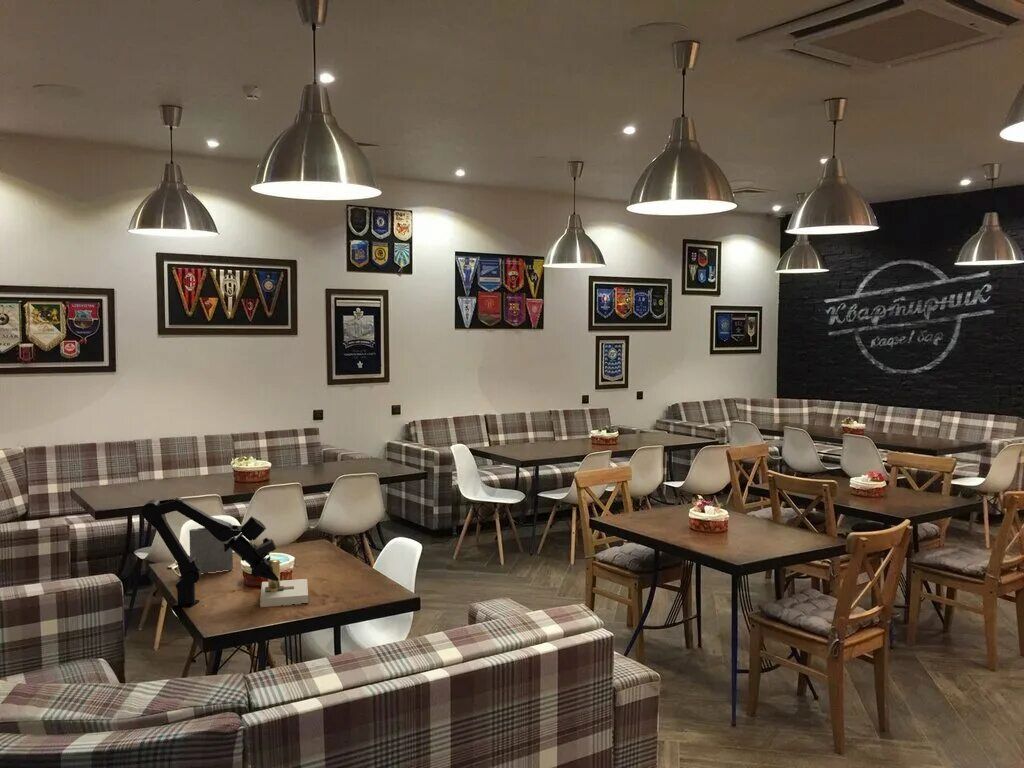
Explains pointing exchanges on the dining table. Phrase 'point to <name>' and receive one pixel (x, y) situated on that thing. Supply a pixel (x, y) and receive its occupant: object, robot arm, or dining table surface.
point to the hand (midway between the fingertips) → (278, 578)
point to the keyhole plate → (285, 593)
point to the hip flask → (209, 551)
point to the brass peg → (276, 569)
